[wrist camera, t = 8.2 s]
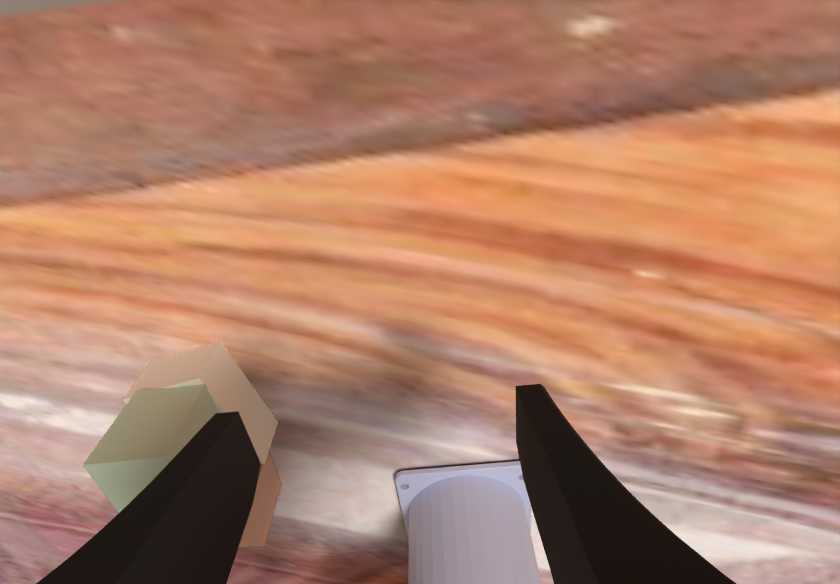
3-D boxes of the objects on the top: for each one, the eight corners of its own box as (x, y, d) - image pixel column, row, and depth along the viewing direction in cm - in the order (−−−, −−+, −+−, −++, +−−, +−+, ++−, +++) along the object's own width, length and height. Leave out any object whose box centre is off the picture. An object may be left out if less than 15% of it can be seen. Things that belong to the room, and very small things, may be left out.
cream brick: (279, 419, 26) (264, 463, 24) (216, 435, 27) (195, 480, 24) (222, 337, 23) (198, 377, 21) (153, 358, 24) (122, 400, 21)
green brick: (247, 471, 24) (219, 548, 21) (186, 477, 24) (149, 554, 21) (205, 383, 21) (164, 457, 18) (136, 391, 21) (82, 465, 18)
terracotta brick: (268, 446, 27) (248, 509, 24) (282, 482, 29) (264, 546, 26) (167, 453, 28) (132, 517, 24) (186, 488, 29) (155, 552, 26)
